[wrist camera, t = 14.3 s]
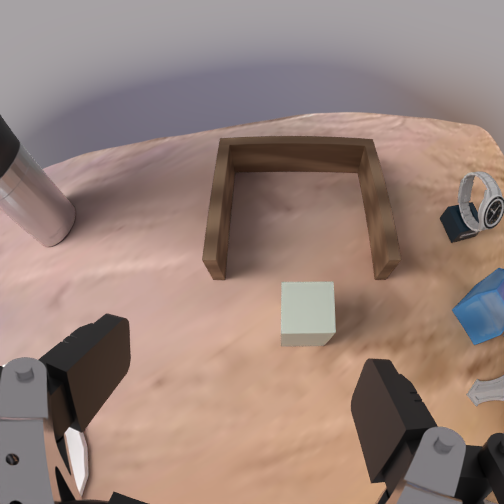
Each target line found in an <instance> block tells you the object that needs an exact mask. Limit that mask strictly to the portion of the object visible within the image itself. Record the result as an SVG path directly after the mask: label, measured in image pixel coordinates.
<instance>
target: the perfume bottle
mask: <svg viewBox="0 0 504 504" xmlns="http://www.w3.org/2000/svg"><path fill="white" fill-rule="evenodd" d="M452 311H453V312H454V314H455V315H456V317H457V318H458V320H459V322H460V323H461V325H462V326H463V328H464V329H465V331H466V333H467V334H468V336H469V337H470V339H471V341H472V342H473V344H474V345H476V344H479V343H482V342H484V341H487V340H489V339H492V338H494V337H497V336H499V335H501V334H502V333H503V331H504V269H502V268H498V269H497V270H495V271H494V272H493V273H491V274H490V275H489V276H487V277H486V278H485V279H483V280H482V281H481V282H479V283H478V284H476V285H475V286H474V287H473V289H472V290H471V291H470V292H469V293H468V294H467V295H466V296H465V297H464V298H463V299H462V300H461V301H460V302H459V303H458V304H457V305H456V306H455V307H454V308H453V309H452Z"/></svg>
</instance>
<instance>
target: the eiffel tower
mask: <svg viewBox="0 0 504 504" xmlns="http://www.w3.org/2000/svg"><path fill="white" fill-rule="evenodd" d="M503 336H504V334H503ZM466 395H467V396H468V397H469V399H470V400H471V401H472V402H473V403H474V405H475V406H478V404H479V403H482V402H486V401H491V400H501V401H504V375H503V376H501V377H499V378H497V379H494V380H491V381H479V380H478V379H477V380H476V381H475V383H474V384H473V386H472V387H471V389H470V390H469V391H468V393H467V394H466Z"/></svg>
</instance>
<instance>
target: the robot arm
mask: <svg viewBox="0 0 504 504" xmlns="http://www.w3.org/2000/svg"><path fill="white" fill-rule="evenodd" d="M0 209H1V210H2V211H3V212H4V213H6V214H7V215H8V216H9V217H10V218H11V219H12V220H13V221H14V222H16V223H17V224H18V225H19V226H20V227H21V228H23V229H24V230H25V231H26V232H27V233H28V234H30V235H31V236H32V237H33V238H34V239H36V240H37V241H38V242H39V243H41V244H42V245H43V246H46V247H50V246H54V245H56V244H57V243H59V242H60V241H62V240H63V239H64V238H65V237H66V235H67V234H68V233H69V231H70V229H71V228H72V226H73V223H74V220H75V214H76V213H75V208H74V206H73V205H72V204H71V203H70V201H69V200H68V199H67V198H66V197H65V196H64V195H63V193H62V192H61V191H60V190H59V189H58V188H57V186H56V185H55V184H54V183H53V182H52V181H51V179H50V178H49V177H48V176H47V175H46V173H45V172H44V171H43V170H42V169H41V167H40V166H39V165H38V164H37V163H36V161H35V160H34V159H33V158H32V156H31V155H30V154H29V153H28V152H27V150H26V149H25V148H24V146H23V145H22V144H21V143H20V142H19V140H18V139H17V137H16V136H15V135H14V134H13V132H12V131H11V129H10V128H9V126H8V125H7V124H6V122H5V121H4V119H3V118H2V117H1V115H0ZM130 359H131V356H130V330H129V321H128V320H127V319H126V318H123V317H119V316H115V315H111V314H105V315H104V316H102V317H101V318H100V319H99V320H97V321H96V322H95V323H94V324H93V323H90V324H88V325H85V326H82V327H79V328H78V329H77V330H75V331H74V332H73V333H71V334H70V336H68V337H66V338H65V339H64V340H63V342H60V343H59V344H57V345H56V346H55V347H54V348H52V349H51V350H50V351H49V352H47V353H46V354H45V355H44V356H42V357H41V358H40V359H39V360H37V359H34V358H27V357H24V358H17V359H14V360H12V361H10V362H8V363H7V364H6V365H5V366H4V367H3V366H0V504H148V503H145V502H142V501H139V500H136V499H133V498H130V497H127V496H124V495H122V494H119V493H116V492H113V494H112V496H111V498H110V500H109V501H102V500H82V498H81V495H80V493H79V490H78V488H77V485H76V481H75V477H74V473H73V468H72V464H71V459H70V454H69V449H68V443H67V438H66V435H65V432H66V431H67V429H68V428H69V427H70V428H72V429H74V430H77V431H79V432H81V433H83V431H84V430H85V428H86V427H87V426H88V424H89V423H90V422H91V420H92V419H93V418H94V416H95V415H96V414H97V412H98V411H99V410H100V408H101V407H102V406H103V404H104V403H105V402H106V400H107V399H108V398H109V396H110V395H111V394H112V392H113V391H114V390H115V388H116V387H117V386H118V384H119V383H120V382H121V380H122V379H123V378H124V376H125V375H126V374H127V372H128V369H129V366H130ZM351 412H352V416H353V419H354V423H355V426H356V430H357V433H358V437H359V440H360V444H361V447H362V451H363V455H364V458H365V462H366V466H367V469H368V473H369V477H370V481H371V483H379V482H385V483H386V488H385V489H384V491H383V492H382V493H381V495H380V497H379V498H378V500H377V502H376V503H375V504H485V503H484V501H483V500H484V499H485V498H486V497H487V496H488V495H489V494H490V493H491V492H492V491H493V492H494V494H495V496H496V498H497V501H498V503H499V504H504V433H496V434H493V435H491V436H490V437H489V439H488V440H487V442H486V443H485V444H484V446H470V445H465V442H464V440H463V438H462V437H461V436H460V435H459V434H458V433H456V432H455V431H453V430H451V429H449V428H445V427H438V426H437V424H436V422H435V421H434V419H433V417H432V416H431V414H430V412H429V411H428V409H427V407H426V406H425V404H424V402H422V399H421V397H420V396H419V394H417V391H416V389H415V387H414V386H413V384H412V383H411V382H410V381H409V380H408V379H407V378H405V377H404V376H403V375H402V374H398V372H397V370H396V369H395V367H394V365H393V364H392V362H391V361H390V360H386V359H368V360H367V361H366V362H365V364H364V367H363V370H362V372H361V375H360V378H359V380H358V383H357V385H356V388H355V391H354V393H353V396H352V400H351Z"/></svg>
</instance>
